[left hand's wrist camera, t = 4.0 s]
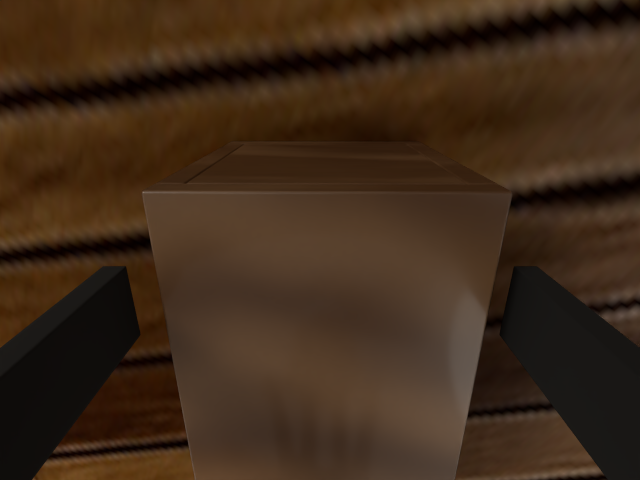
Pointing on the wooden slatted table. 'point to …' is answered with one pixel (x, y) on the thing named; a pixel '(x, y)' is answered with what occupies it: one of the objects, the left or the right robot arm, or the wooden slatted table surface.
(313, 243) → the cabinet
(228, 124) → the wooden slatted table surface
